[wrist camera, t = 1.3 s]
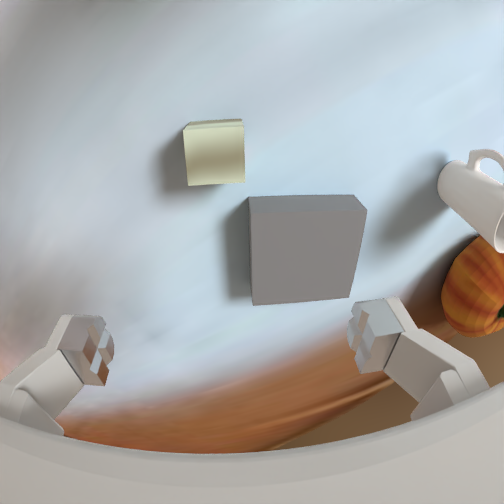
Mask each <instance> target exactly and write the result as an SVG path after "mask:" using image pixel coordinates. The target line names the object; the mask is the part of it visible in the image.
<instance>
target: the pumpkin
mask: <svg viewBox="0 0 504 504" xmlns="http://www.w3.org/2000/svg"><path fill="white" fill-rule="evenodd" d="M441 300H442V305H443V310H444V314H445V317H446V319H447V321H448V322H449V324H450V325H451V326H452V327H453V328H454V329H455V330H456V331H457V332H458V333H460V334H462V335H463V336H467V337H480V336H484V335H487V334H490V333H493V332H496V331H498V330H501V328H503V327H504V253H499V252H497V251H496V250H495V249H494V248H493V247H492V246H491V245H490V244H489V243H488V242H487V241H486V240H485V239H484V238H483V237H482V236H481V235H480V236H479V237H478V238H476V239H475V240H474V241H473V242H471V243H470V244H469V245H468V246H467V247H466V248H465V249H464V250H463V251H462V252H461V253H460V254H459V255H458V256H457V257H456V258H455V260H454V262H453V264H452V266H451V268H450V270H449V272H448V274H447V276H446V279H445V282H444V285H443V287H442V292H441Z"/></svg>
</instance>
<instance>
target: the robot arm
mask: <svg viewBox="0 0 504 504" xmlns="http://www.w3.org/2000/svg"><path fill="white" fill-rule="evenodd" d="M351 312H352V314H353V316H354V317H353V318H352V319H351V320H350V321H349V322H348V327H347V338H348V342H349V345H350V348H351V349H353V350H354V351H355V352H357V353H356V356H355V361H356V363H357V366H358V369H359V371H360V374H363V373H369V372H375V371H380V370H384V372H385V373H386V374H387V375H388V376H390V377H391V378H392V379H393V380H394V381H395V382H396V383H398V384H399V385H400V386H401V387H402V388H404V390H406V391H407V392H408V393H409V394H410V395H411V396H412V397H414V398H415V399H416V400H417V401H418V402H419V404H418V406H417V407H416V408H415V409H414V411H413V412H412V414H411V419H412V421H411V422H408V423H405V424H402V425H399V426H395V427H392V428H389V429H385V430H382V431H378V432H374V433H371V434H367V435H363V436H358V437H354V438H350V439H345V440H341V441H336V442H330V443H325V444H319V445H313V446H308V447H301V448H293V449H285V450H276V451H265V452H253V453H233V454H185V453H166V452H154V451H143V450H135V449H127V448H120V447H113V446H107V445H101V444H96V443H90V442H86V441H81V440H76V439H72V438H68V437H63V434H64V430H63V428H62V427H61V426H60V425H59V424H58V423H56V422H55V421H54V420H55V419H56V417H57V416H58V415H59V414H60V413H61V412H62V410H63V409H64V408H65V407H66V406H67V405H68V403H69V402H70V401H71V400H72V399H73V398H74V397H75V395H76V394H77V393H78V392H79V391H80V390H81V389H82V387H83V386H84V385H83V384H85V385H96V386H105V383H106V380H107V376H108V373H109V369H108V367H107V364H108V363H110V362H111V361H112V359H113V355H114V342H113V338H112V336H111V334H110V333H109V332H108V331H106V330H105V329H104V328H105V326H106V323H105V321H104V319H103V317H101V316H92V315H68V314H64V315H62V316H61V317H60V319H59V320H58V322H57V324H56V326H55V328H54V330H53V332H52V334H51V336H50V338H49V340H48V342H47V344H46V346H45V348H41V349H39V350H38V351H37V352H35V353H34V354H33V355H32V356H30V357H29V358H28V359H27V360H25V361H24V362H23V363H22V364H20V365H19V366H18V367H17V368H15V369H14V370H13V371H12V372H11V373H9V374H8V375H7V376H6V377H4V378H3V379H2V380H1V381H0V504H504V381H503V382H501V383H499V384H497V385H496V386H494V387H492V388H490V387H489V385H488V383H487V382H486V380H485V378H484V376H483V375H482V373H481V371H480V370H479V368H478V367H477V365H476V363H475V361H474V360H473V359H471V358H469V357H468V356H466V355H465V354H463V353H461V352H460V351H458V350H457V349H455V348H453V347H452V346H450V345H448V344H447V343H445V342H443V341H442V340H440V339H438V338H437V337H435V336H433V335H432V334H430V333H428V332H427V331H425V330H423V329H418V328H417V326H416V325H415V323H414V322H413V320H412V318H411V317H410V315H409V314H408V312H407V310H406V309H405V307H404V306H403V304H402V303H401V301H400V299H399V298H398V297H396V296H394V297H388V298H382V299H375V300H367V301H360V302H355V303H354V305H353V307H352V311H351Z"/></svg>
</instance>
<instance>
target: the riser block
mask: <svg viewBox="0 0 504 504" xmlns="http://www.w3.org/2000/svg"><path fill="white" fill-rule="evenodd" d="M248 205H249V247H250V285H251V294H252V303H253V306H255V305H270V304H284V303H297V302H308V301H319V300H330V299H340V298H349V295H350V291H351V287H352V283H353V278H354V274H355V270H356V265H357V261H358V256H359V251H360V247H361V242H362V237H363V232H364V226H365V221H366V215H367V209H366V208H365V207H364V206H363V205H362V204H361V202H360V201H359V200H358V199H357V198H356V197H355V196H354V195H292V196H261V197H248Z"/></svg>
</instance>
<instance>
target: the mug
mask: <svg viewBox="0 0 504 504" xmlns="http://www.w3.org/2000/svg"><path fill="white" fill-rule="evenodd" d="M483 158H491V159H494V160H495V161H497V162H498V163H499V164H500V165H501V167H502V169H503V171H504V156H503V155H502V154H500V153H499V152H497V151H495V150H491V149H480V150H472V151H470V153H469V160H468V163H467V164H466V163H464V162H462V161H460V160H454V161H451V162H449V163H448V164H447V165H446V166H445V167H444V168H443V169H442V171H441V173H440V175H439V178H438V183H437V189H438V194H439V196H440V198H441V199H442V200H443V201H444V202H445V203H446V204H447V205H448V206H449V207H451V208H452V209H453V210H454V211H455V212H456V213H457V214H459V215H460V216H461V217H462V218H463V219H464V220H465V221H466V222H467V223H469V224H470V225H471V226H472V227H473V228H474V229H475V230H476V231H477V232H478V233H479V234H480V235H481V236H482V237H483V238H484V239H485V240H486V241H487V242H488V243H489V244H490V245H491V246H492V247H493V248H494V249H495V250H496V251H497V252H499V253H504V184H501V183H500V182H498V181H496V180H495V179H493V178H491V177H490V176H488V175H486V174H484V173H483V172H481V171H480V169H479V165H480V161H481V160H482V159H483Z"/></svg>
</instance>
